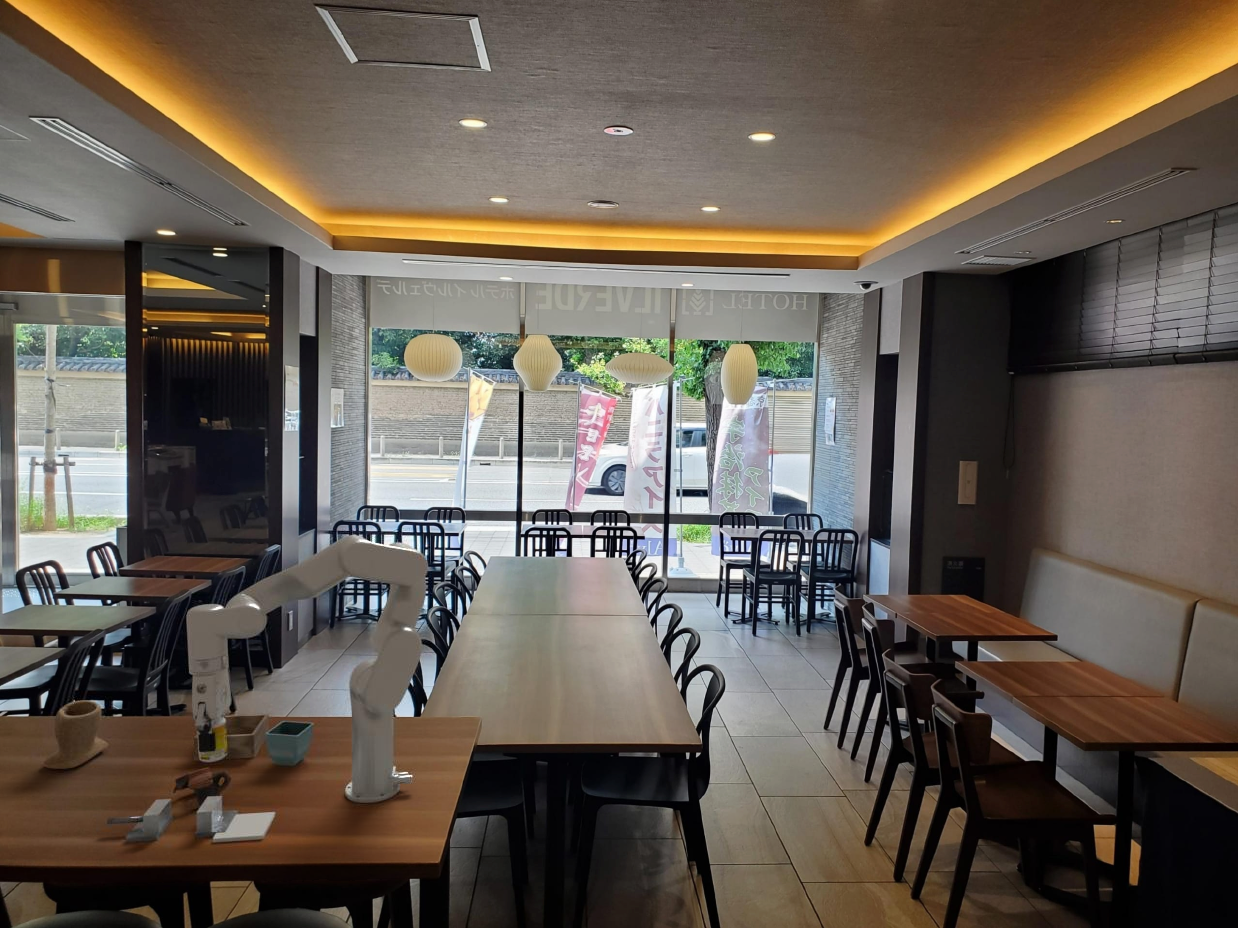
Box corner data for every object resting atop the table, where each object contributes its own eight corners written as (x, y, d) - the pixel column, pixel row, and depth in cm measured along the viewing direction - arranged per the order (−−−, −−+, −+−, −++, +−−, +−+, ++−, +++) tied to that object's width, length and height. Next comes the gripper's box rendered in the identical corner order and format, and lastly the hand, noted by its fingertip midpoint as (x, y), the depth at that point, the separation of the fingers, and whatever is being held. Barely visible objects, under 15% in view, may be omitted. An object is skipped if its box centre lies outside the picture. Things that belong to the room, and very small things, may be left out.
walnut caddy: (269, 734, 224) (268, 713, 223) (254, 757, 209) (254, 734, 209) (213, 737, 221) (212, 716, 221) (194, 760, 207) (193, 737, 207)
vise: (238, 814, 180) (237, 792, 180) (225, 835, 172) (225, 812, 171) (117, 821, 176) (117, 799, 176) (98, 843, 167) (98, 820, 167)
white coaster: (275, 815, 180) (275, 811, 180) (263, 838, 171) (263, 835, 170) (227, 818, 179) (227, 814, 179) (212, 842, 169) (212, 838, 169)
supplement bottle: (231, 757, 174) (229, 711, 173) (204, 765, 170) (201, 718, 169) (222, 749, 178) (219, 704, 177) (194, 757, 174) (192, 711, 173)
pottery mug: (175, 817, 180) (167, 780, 182) (184, 816, 188) (176, 781, 190) (233, 794, 184) (223, 759, 187) (239, 794, 193) (230, 760, 195)
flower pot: (314, 755, 211) (314, 722, 211) (298, 770, 203) (297, 735, 202) (282, 753, 212) (282, 720, 212) (265, 768, 203) (264, 733, 203)
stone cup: (79, 774, 198) (78, 715, 197) (34, 771, 199) (32, 712, 198) (122, 748, 213) (121, 693, 212) (80, 745, 214) (78, 691, 213)
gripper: (213, 675, 164) (217, 761, 166) (240, 649, 181) (243, 727, 183) (174, 677, 163) (178, 763, 164) (204, 651, 180) (208, 729, 181)
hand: (212, 743), depth 174 cm, fingers closed on supplement bottle, 5 cm apart
